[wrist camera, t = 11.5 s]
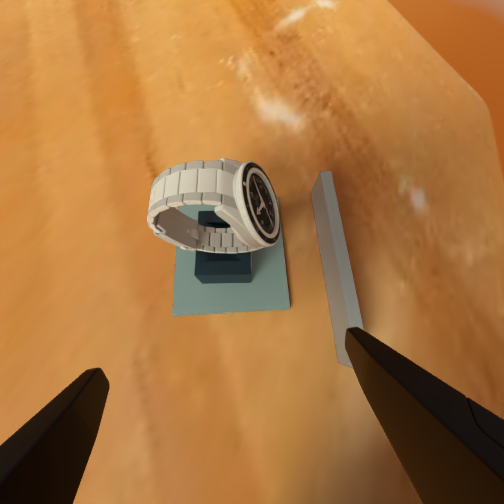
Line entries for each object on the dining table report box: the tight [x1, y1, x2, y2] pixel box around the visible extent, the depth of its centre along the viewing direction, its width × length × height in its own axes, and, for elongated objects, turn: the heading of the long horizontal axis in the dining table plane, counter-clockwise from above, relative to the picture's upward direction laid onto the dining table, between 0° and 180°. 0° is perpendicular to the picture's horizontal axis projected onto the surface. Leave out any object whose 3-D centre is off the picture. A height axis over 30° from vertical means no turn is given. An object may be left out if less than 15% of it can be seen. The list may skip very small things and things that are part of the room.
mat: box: [172, 197, 290, 316], centre depth 22 cm, size 11×10×1 cm
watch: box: [147, 158, 280, 284], centre depth 16 cm, size 6×8×11 cm
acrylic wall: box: [311, 171, 364, 368], centre depth 20 cm, size 16×1×4 cm, turn 4°
